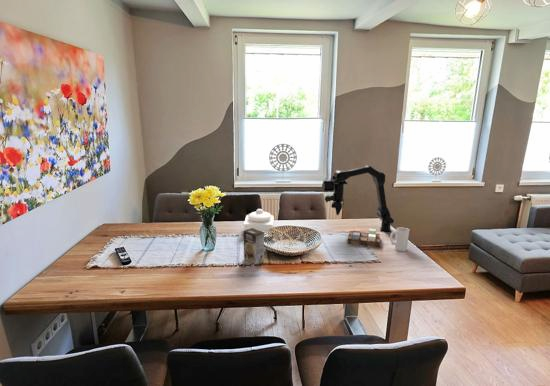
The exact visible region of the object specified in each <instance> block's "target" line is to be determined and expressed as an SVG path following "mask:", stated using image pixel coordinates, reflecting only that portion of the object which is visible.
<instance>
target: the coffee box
mask: <svg viewBox="0 0 550 386" xmlns="http://www.w3.org/2000/svg"><path fill="white" fill-rule="evenodd" d="M264 249H265V238H264V232H262V231H259V230H256V229H254V228H251V229H247V230H244V229H243V259H244V260H245V261H247V262H249V263H252V264H254V265H257V264H259V263H262V262H264V261H265V250H264Z"/></svg>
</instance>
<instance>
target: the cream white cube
mask: <svg viewBox="0 0 550 386" xmlns="http://www.w3.org/2000/svg"><path fill="white" fill-rule="evenodd" d="M375 239H376V235H374V234H369V235H368V241H374V242H375Z"/></svg>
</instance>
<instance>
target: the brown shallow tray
mask: <svg viewBox="0 0 550 386" xmlns="http://www.w3.org/2000/svg"><path fill="white" fill-rule="evenodd" d="M352 234H353V230H349V232H348V235H347V242H346V243H347V245H354V246H360V245H361V247H363V246H364V247H372V248H380V244H381V239H380V238H381V235H380V233H376V239H375V242H374V241H368V234H369V232H364V231H363V232H362V231H360V238H359V240H356V239H352Z"/></svg>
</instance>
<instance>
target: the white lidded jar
mask: <svg viewBox="0 0 550 386" xmlns="http://www.w3.org/2000/svg"><path fill="white" fill-rule="evenodd" d="M244 219H245V220H244V222H243V226H244V229H243V231H244V230H247V229H251V228H254V229H256V230H259V231H262V232H263V231H265V230H267V229H270V228H273V227H274V228H275V226H274V225H275V220H274V219H275V217H274V215H272V214H271V213H270V212H267V211H264V210H263V209H262V208H257V209H256V211H252V212H251V213H248V214H246V215H245V218H244Z"/></svg>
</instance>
